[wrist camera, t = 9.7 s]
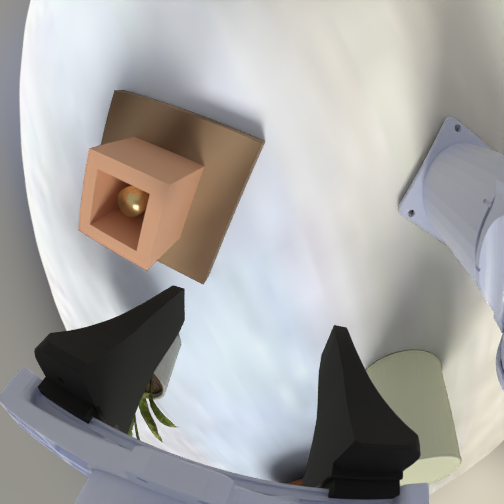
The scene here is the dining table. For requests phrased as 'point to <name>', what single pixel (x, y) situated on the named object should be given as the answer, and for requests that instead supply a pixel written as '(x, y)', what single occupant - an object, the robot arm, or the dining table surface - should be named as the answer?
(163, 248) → the open box
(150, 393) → the house plant
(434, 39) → the dining table surface
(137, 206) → the keeper
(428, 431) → the can
